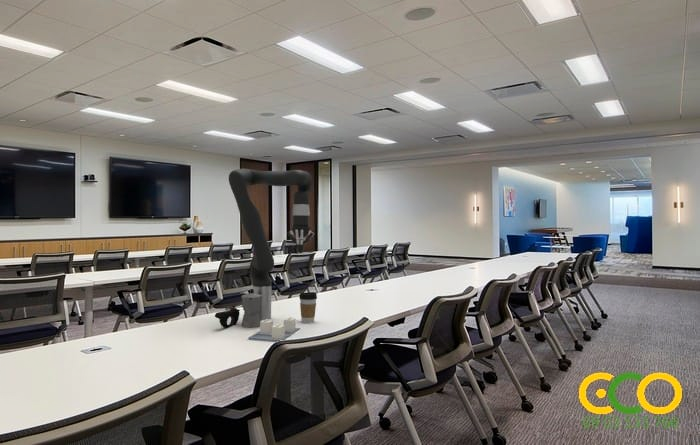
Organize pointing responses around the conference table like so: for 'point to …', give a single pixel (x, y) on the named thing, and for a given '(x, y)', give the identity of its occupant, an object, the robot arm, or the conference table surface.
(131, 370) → the conference table surface
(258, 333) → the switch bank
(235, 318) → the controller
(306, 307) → the coffee cup
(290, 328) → the white studded block
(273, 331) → the white toy brick
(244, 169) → the robot arm
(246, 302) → the coffeepot
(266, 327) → the cream white block
